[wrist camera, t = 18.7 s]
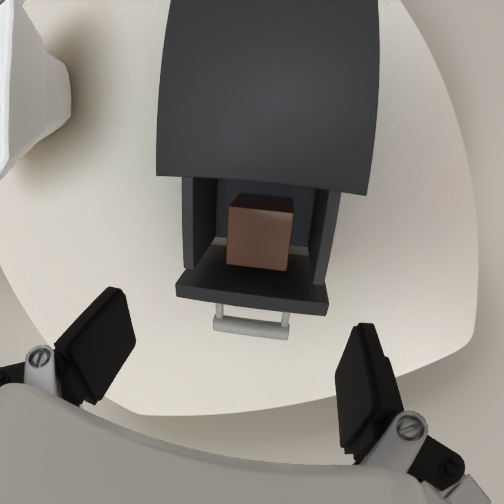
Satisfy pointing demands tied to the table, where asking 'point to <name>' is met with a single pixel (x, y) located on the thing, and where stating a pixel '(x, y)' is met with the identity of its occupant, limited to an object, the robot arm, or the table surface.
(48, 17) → the table surface
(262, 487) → the robot arm
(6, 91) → the bowl
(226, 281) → the pull-out drawer
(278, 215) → the block
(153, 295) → the table surface
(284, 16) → the dark drawer cabinet
